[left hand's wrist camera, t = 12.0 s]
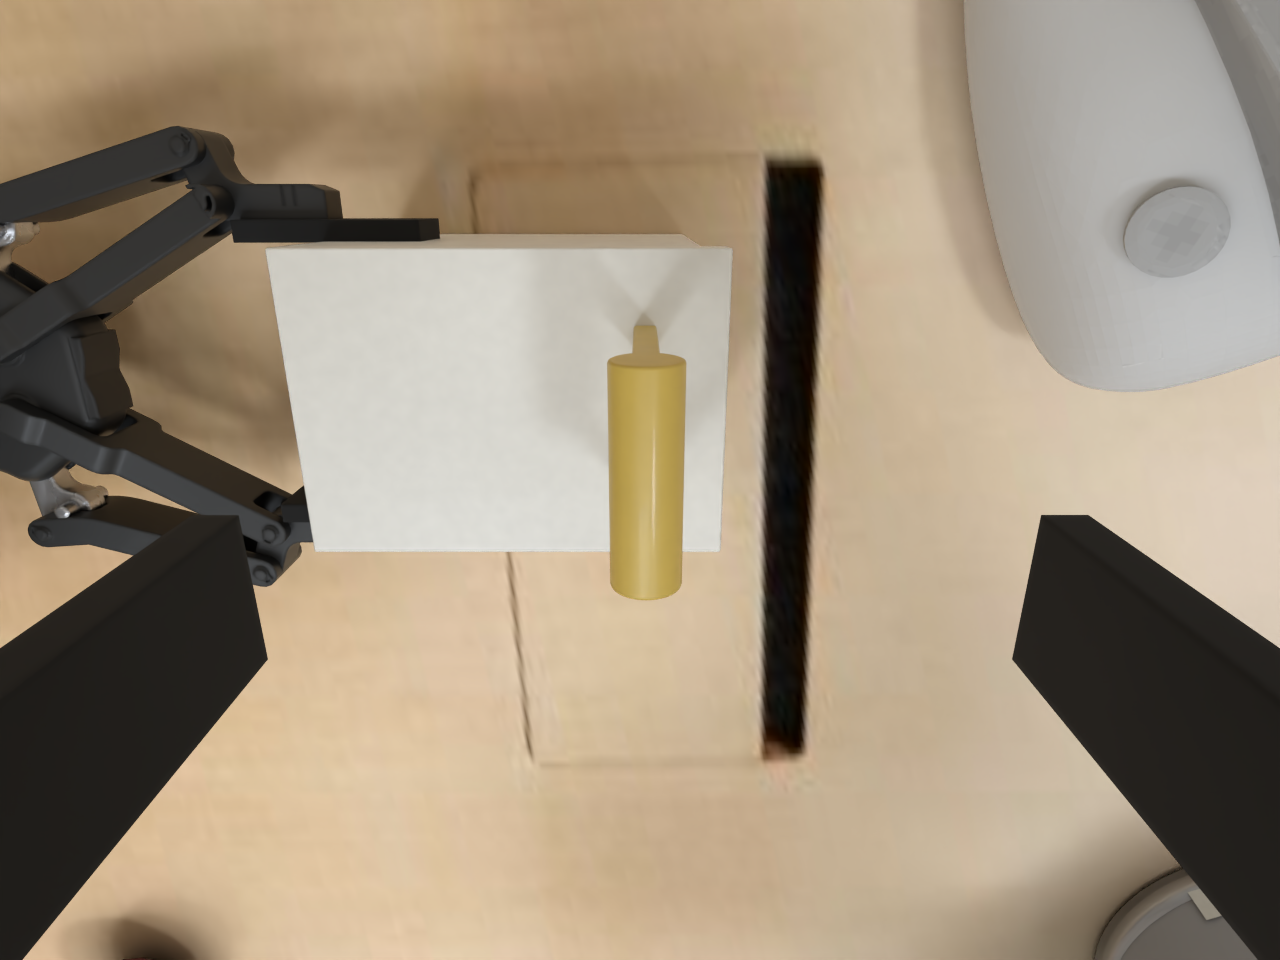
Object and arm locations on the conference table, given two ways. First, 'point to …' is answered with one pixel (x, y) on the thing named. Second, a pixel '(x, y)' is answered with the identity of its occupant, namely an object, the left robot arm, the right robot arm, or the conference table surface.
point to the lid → (511, 399)
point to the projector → (1133, 180)
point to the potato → (139, 959)
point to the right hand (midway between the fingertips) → (443, 373)
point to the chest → (534, 240)
